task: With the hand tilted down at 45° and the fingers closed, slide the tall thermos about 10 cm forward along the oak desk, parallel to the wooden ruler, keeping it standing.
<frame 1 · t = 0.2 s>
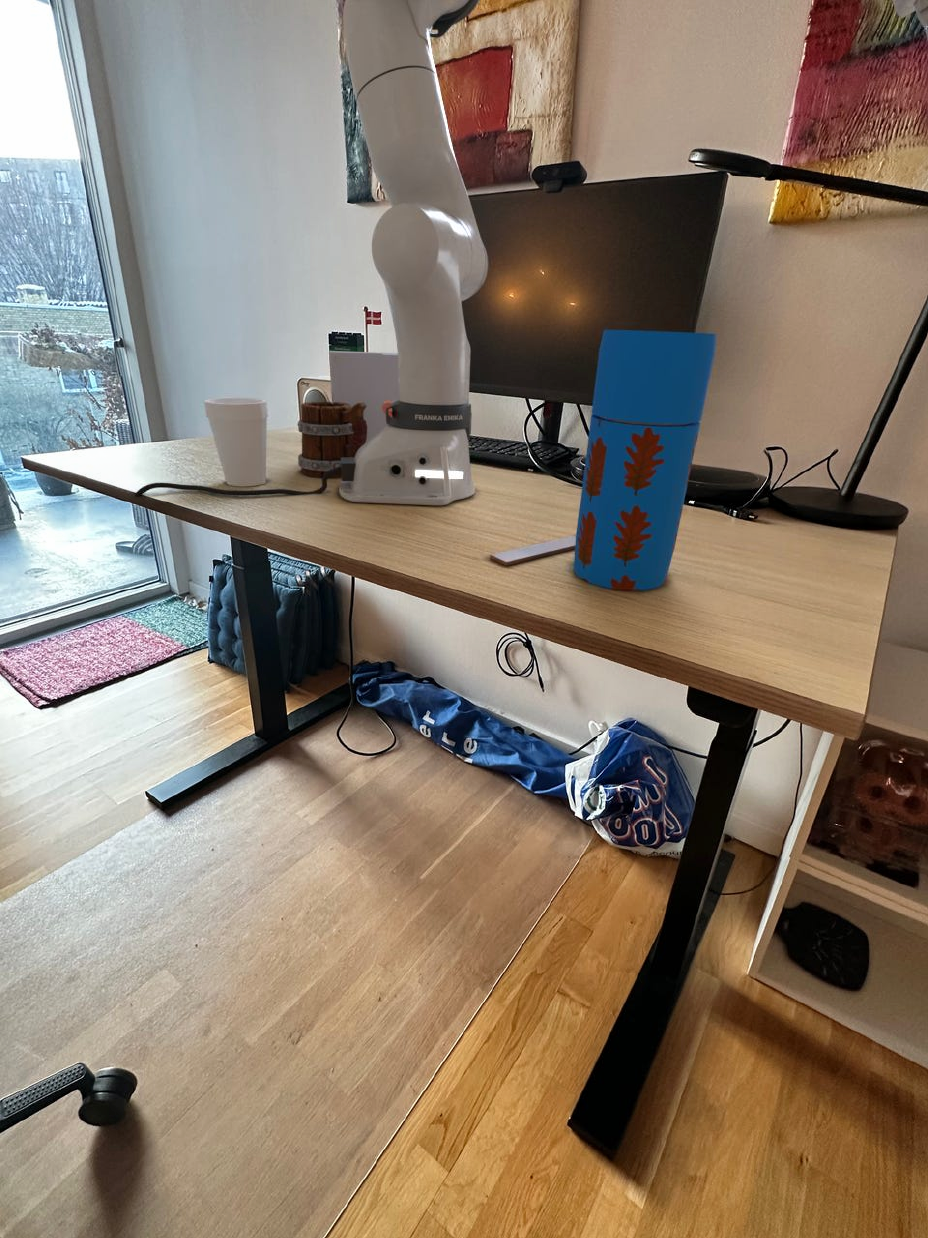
thermos: (618, 574, 67), on the table
ruler: (584, 541, 77), on the table
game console: (401, 457, 123), on the table
foam cup: (246, 483, 99), on the table
mug: (337, 473, 107), on the table
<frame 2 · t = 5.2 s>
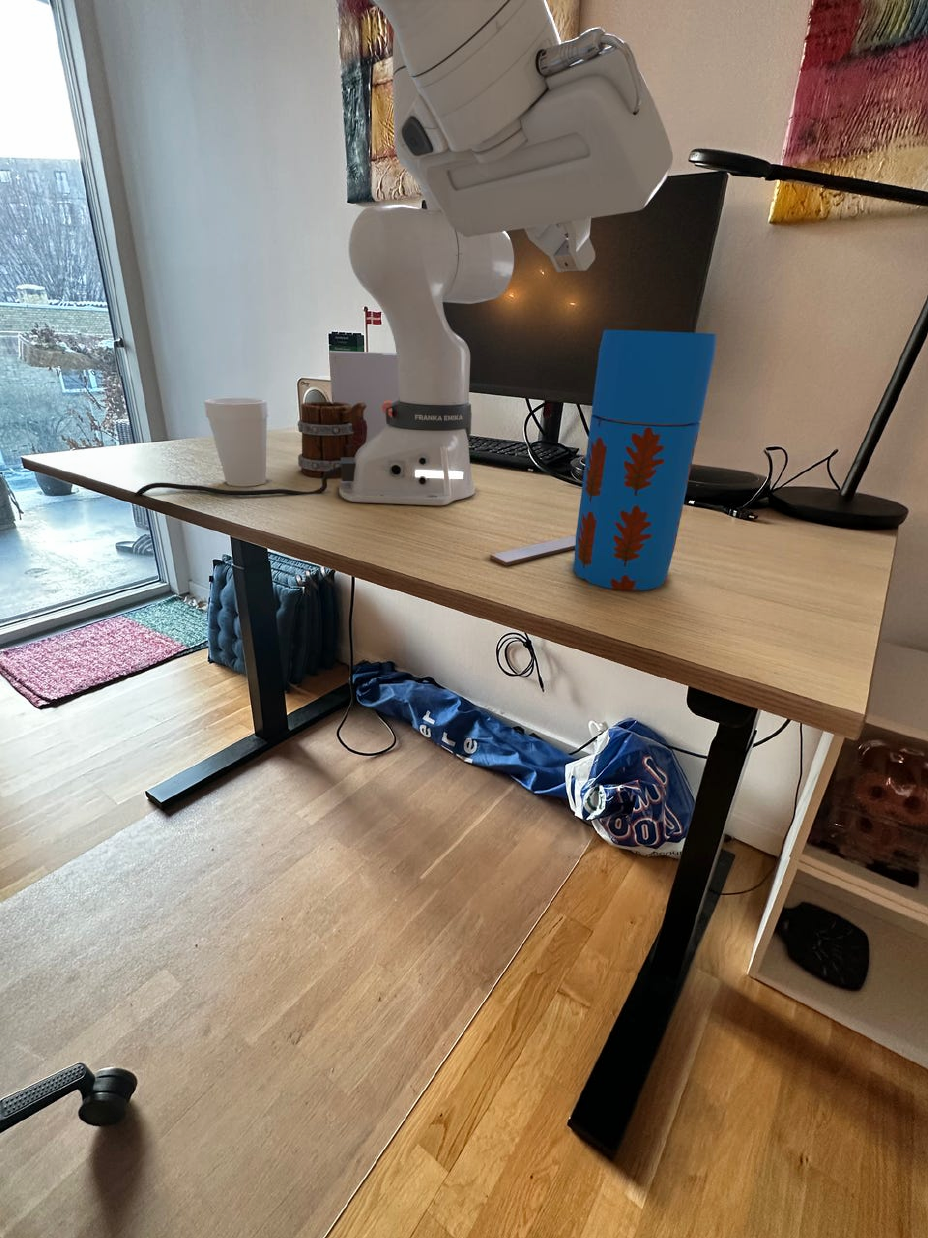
hand: (577, 266, 47), 29 cm above the table, tool tilted 45°, fingers closed
nothing on the table moved.
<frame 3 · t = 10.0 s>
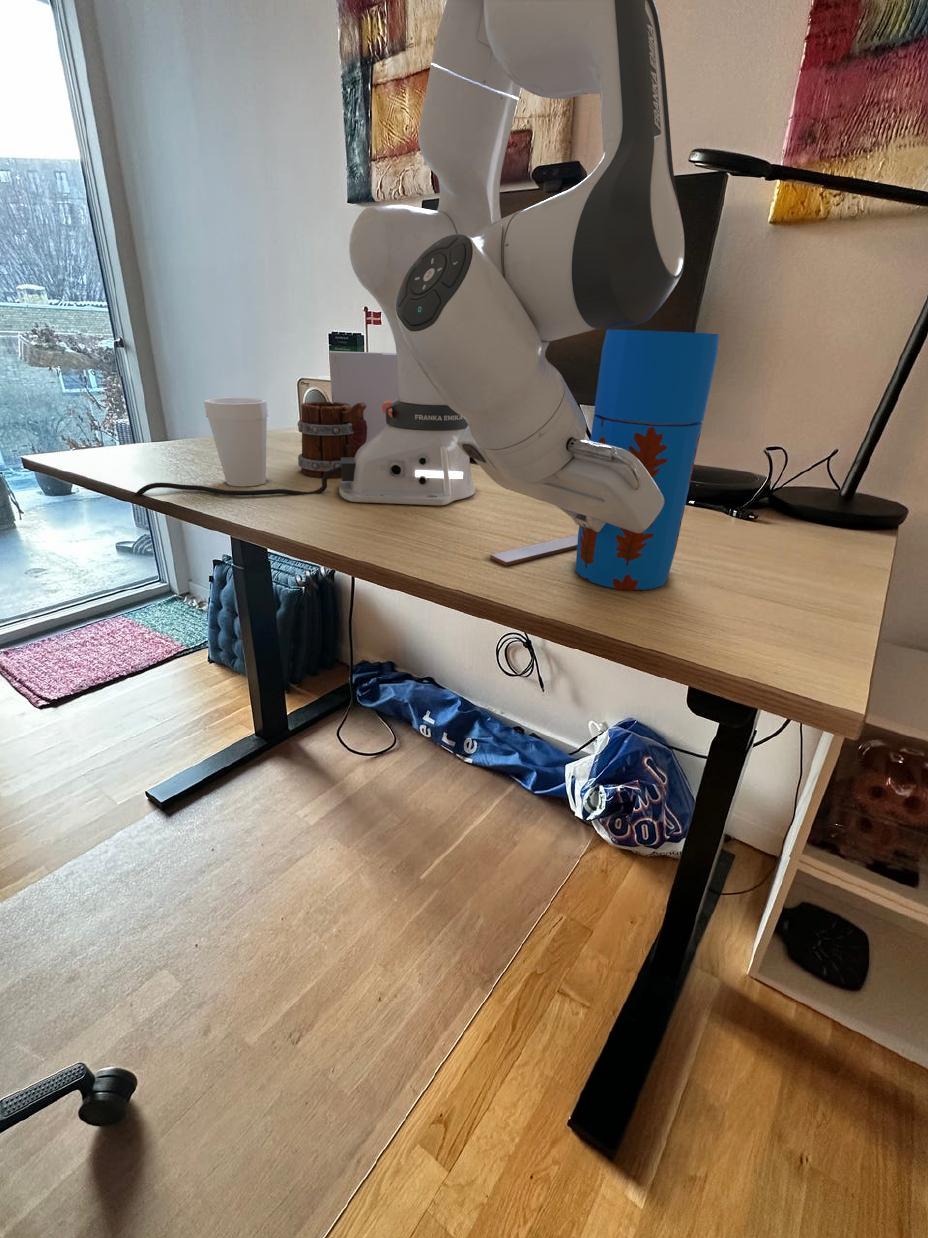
hand: (592, 523, 61), 7 cm above the table, tool tilted 45°, fingers closed, pressing on thermos
thermos: (620, 573, 67), on the table, touching gripper
everything else where it was.
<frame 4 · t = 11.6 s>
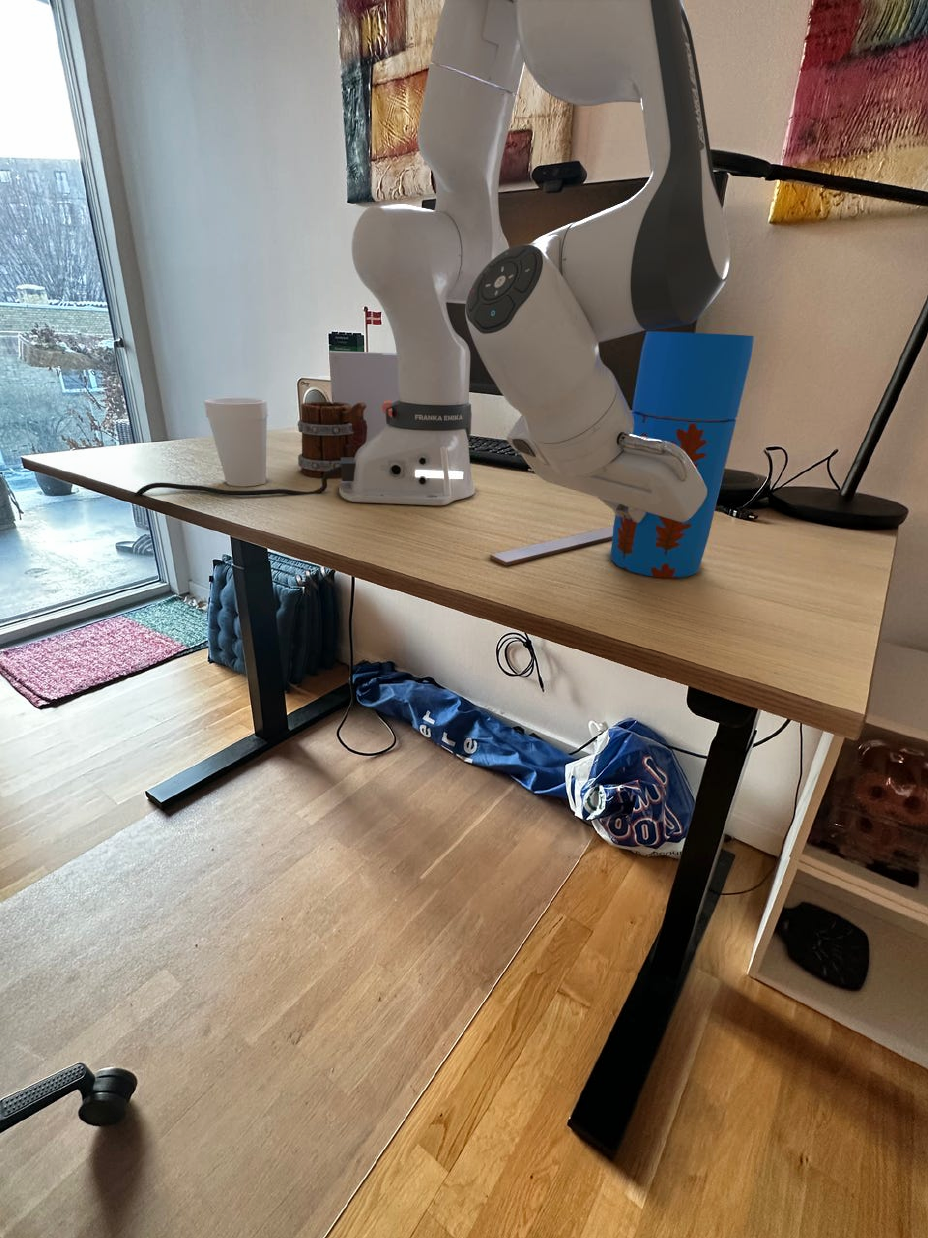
hand: (632, 514, 64), 7 cm above the table, tool tilted 45°, fingers closed, pressing on thermos
thermos: (653, 563, 71), on the table, touching gripper
everything else where it was.
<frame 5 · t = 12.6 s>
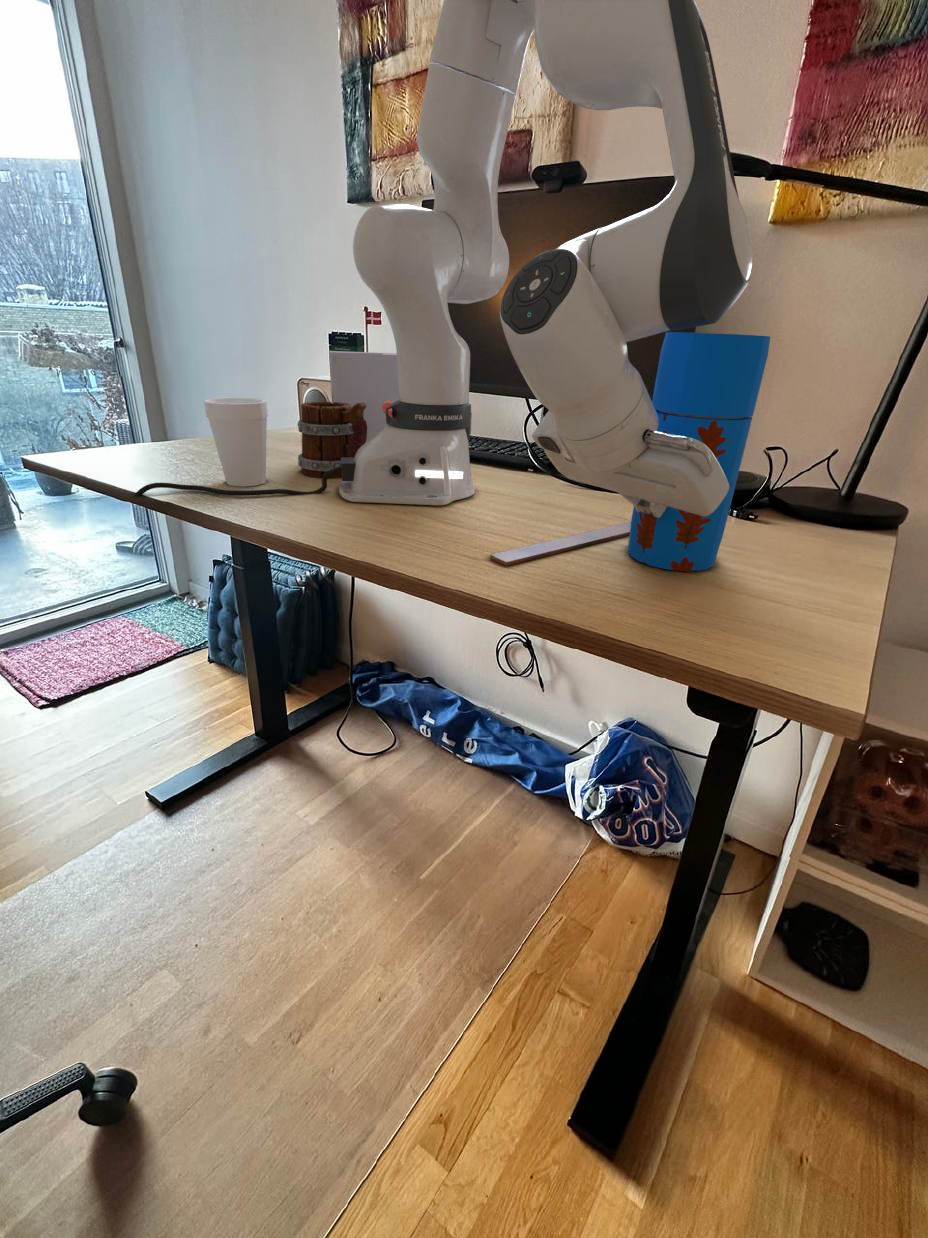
hand: (652, 510, 66), 7 cm above the table, tool tilted 45°, fingers closed, pressing on thermos
thermos: (670, 557, 73), on the table, touching gripper
everything else where it was.
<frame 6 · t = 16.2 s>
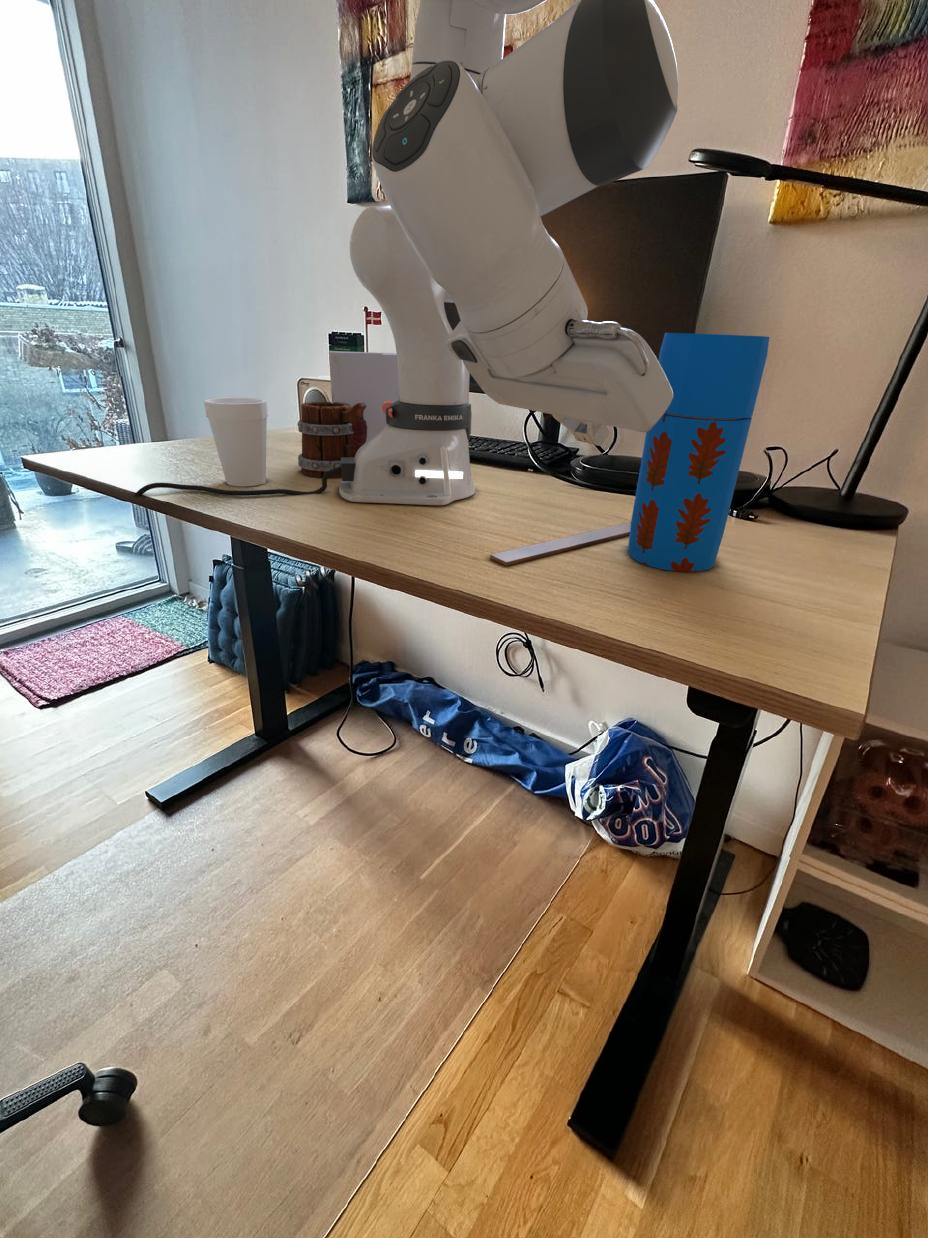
hand: (593, 438, 56), 16 cm above the table, tool tilted 45°, fingers closed
thermos: (670, 557, 73), on the table
everything else where it was.
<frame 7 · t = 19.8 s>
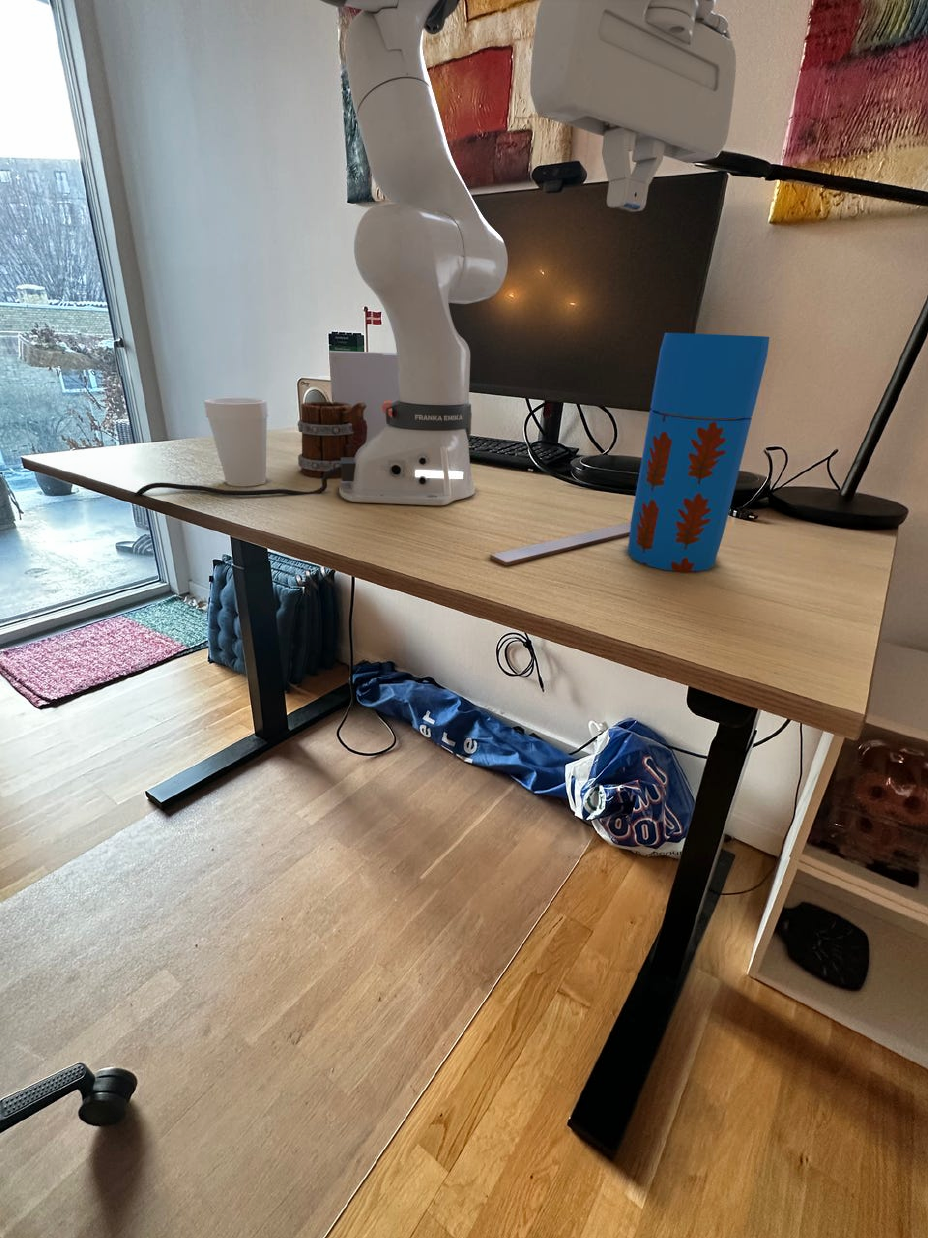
hand: (625, 208, 49), 34 cm above the table, tool pointing down, fingers closed
nothing on the table moved.
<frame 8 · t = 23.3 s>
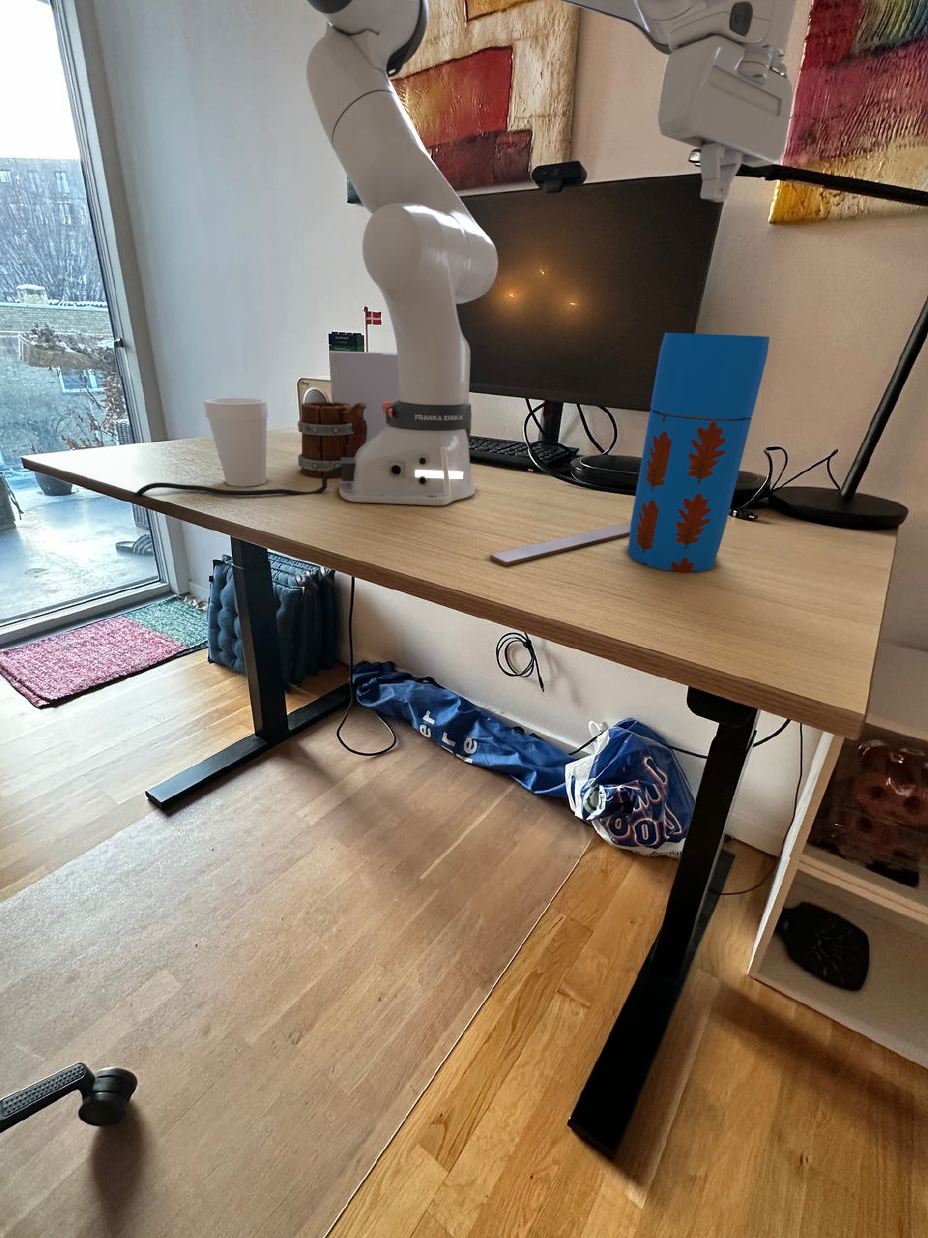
hand: (713, 200, 68), 39 cm above the table, tool pointing down, fingers closed
nothing on the table moved.
at the end: thermos moved 10.1 cm from its start; thermos inside the target area (0.2 cm from its centre), on the table; thermos tilted 0° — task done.
